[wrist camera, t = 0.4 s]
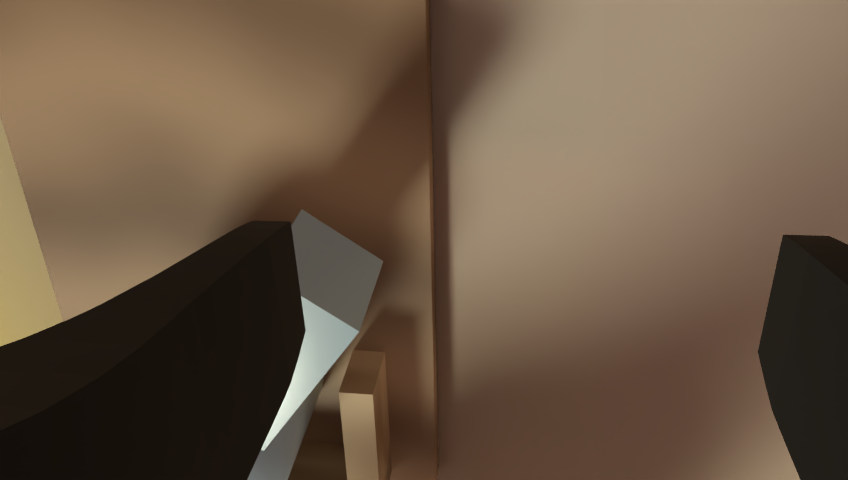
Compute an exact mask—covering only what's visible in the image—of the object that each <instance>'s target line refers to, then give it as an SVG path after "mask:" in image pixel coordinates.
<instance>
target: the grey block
mask: <svg viewBox="0 0 848 480" xmlns="http://www.w3.org/2000/svg"><path fill="white" fill-rule="evenodd" d="M291 227H292V234H293V241H294V249H295V256H296V263H297V271H298V278H299V285H300V293H301V300H302V307H303V315H304V322H305V329H306V332H305V335H304V339H303V343H302V346H301V350H300V354H299V358H298V361H297V364H296V368H295V371H294V374H293V378H292V381H291V384H290V386H289V389H288V391H287V393H286V396H285V398H284V400H283V402H282V405H281V407H280V409H279V411H278V414H277V416H276V418H275V420H274V422H273V425H272V427H271V429H270V431H269V433H268V436H267V438H266V440H265V442H264V444H263V446H262V449H261V451H260V453H259V455H258V457H257V459H256V462H255V464H254V466H253V468H252V470H251V472H250V475H249V477H248V479H247V480H288V477H289V475H290V472H291V469H292V467H293V464H294V461H295V459H296V456H297V453H298V451H299V448H300V445H301V442H302V440H303V437H304V434H305V432H306V429H307V426H308V424H309V421H310V418H311V416H312V413H313V410H314V408H315V405H316V402H317V400H318V397H319V394H320V391H321V389H322V386H323V383H324V380H325V376H326V373H327V371H328V370H329V369H330V368H331V366H332V365H333V364H334V363H335V361H336V360H337V359H338V358H339V356H340V355H341V354H342V353H343V351H344V350H345V349H346V348H347V347H348V345H349V344H350V343H351V342H352V340H353V339H354V338H355V337H356V335H357V334H358V333H359V332H360V329H361V326H362V323H363V320H364V317H365V314H366V311H367V308H368V305H369V302H370V299H371V296H372V293H373V290H374V287H375V285H376V282H377V279H378V276H379V273H380V270H381V267H382V264H383V261H382V260H381V259H379V258H378V257H376V256H375V255H373V254H371V253H370V252H368V251H367V250H365V249H364V248H362V247H360V246H359V245H357V244H356V243H354V242H353V241H351V240H349V239H348V238H346V237H345V236H343V235H341V234H340V233H338V232H337V231H335V230H334V229H332V228H330V227H329V226H327V225H326V224H324V223H323V222H321V221H319V220H318V219H316V218H315V217H313V216H312V215H310V214H308V213H307V212H305V211H304V210H302V209H301V211H300V212H299V214H298V215H297V217H296V218H295V220H294V221H293V223H292V224H291Z"/></svg>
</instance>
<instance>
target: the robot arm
mask: <svg viewBox="0 0 848 480" xmlns="http://www.w3.org/2000/svg"><path fill="white" fill-rule="evenodd" d="M305 332H306V329H305V322H304V315H303V307H302V300H301V293H300V285H299V278H298V271H297V263H296V256H295V249H294V241H293V234H292V227H291V222H289V221H251V222H248V223H246V224H244V225H242V226H240V227H238V228H236V229H234V230H232V231H230V232H228V233H227V234H225V235H223V236H221V237H220V238H218V239H216V240H214V241H213V242H211V243H209V244H208V245H206V246H204V247H203V248H201V249H199V250H198V251H196V252H194V253H192V254H191V255H189V256H187V257H186V258H184V259H182V260H181V261H179V262H177V263H175V264H174V265H172V266H170V267H169V268H167V269H165V270H164V271H162V272H160V273H158V274H157V275H155V276H153V277H151V278H149V279H147V280H145V281H143V282H142V283H140V284H138V285H136V286H134V287H132V288H130V289H129V290H127V291H125V292H123V293H121V294H119V295H117V296H115V297H114V298H112V299H110V300H108V301H106V302H104V303H102V304H100V305H98V306H96V307H94V308H92V309H90V310H88V311H86V312H84V313H82V314H79V315H77V316H75V317H73V318H71V319H68V320H66V321H64V322H61V323H59V324H57V325H54V326H52V327H50V328H47V329H45V330H43V331H40V332H38V333H36V334H33V335H31V336H28V337H26V338H23V339H20V340H18V341H15V342H12V343H9V344H6V345H3V346H1V347H0V480H247V479H248V477H249V475H250V472H251V470H252V468H253V466H254V464H255V462H256V459H257V457H258V455H259V453H260V451H261V449H262V446H263V444H264V442H265V440H266V438H267V436H268V433H269V431H270V429H271V427H272V425H273V422H274V420H275V418H276V416H277V414H278V411H279V409H280V407H281V405H282V402H283V400H284V398H285V396H286V393H287V391H288V389H289V386H290V384H291V381H292V378H293V374H294V371H295V368H296V364H297V361H298V358H299V354H300V350H301V346H302V343H303V339H304V335H305ZM758 354H759V358H760V363H761V367H762V371H763V376H764V380H765V384H766V388H767V392H768V396H769V400H770V403H771V407H772V411H773V413H774V416H775V419H776V421H777V424H778V426H779V429H780V431H781V433H782V436H783V438H784V441H785V443H786V446H787V448H788V451H789V453H790V455H791V458H792V460H793V463H794V465H795V467H796V470H797V472H798V475H799V477H800V479H801V480H848V245H847V244H845V243H843V242H841V241H839V240H837V239H834V238H832V237H830V236H806V235H783V238H782V242H781V247H780V252H779V256H778V261H777V266H776V270H775V275H774V280H773V284H772V289H771V293H770V298H769V303H768V307H767V312H766V317H765V321H764V326H763V331H762V335H761V340H760V345H759V349H758Z"/></svg>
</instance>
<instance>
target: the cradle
mask: <svg viewBox="0 0 848 480" xmlns="http://www.w3.org/2000/svg"><path fill="white" fill-rule="evenodd" d="M0 116H1V119H2V123H3V126H4V129H5V132H6V136H7V139H8V142H9V146H10V149H11V152H12V155H13V159H14V162H15V165H16V168H17V172H18V175H19V178H20V181H21V185H22V188H23V191H24V194H25V198H26V201H27V204H28V208H29V211H30V214H31V217H32V221H33V224H34V227H35V230H36V234H37V237H38V240H39V243H40V247H41V250H42V253H43V256H44V260H45V263H46V266H47V270H48V273H49V276H50V279H51V283H52V286H53V289H54V292H55V296H56V299H57V302H58V305H59V309H60V312H61V315H62V319H63V322H64V321H66V320H68V319H71V318H73V317H75V316H77V315H79V314H82V313H84V312H86V311H88V310H90V309H92V308H94V307H96V306H98V305H100V304H102V303H104V302H106V301H108V300H110V299H112V298H114V297H115V296H117V295H119V294H121V293H123V292H125V291H127V290H129V289H130V288H132V287H134V286H136V285H138V284H140V283H142V282H143V281H145V280H147V279H149V278H151V277H153V276H155V275H157V274H158V273H160V272H162V271H164V270H165V269H167V268H169V267H170V266H172V265H174V264H175V263H177V262H179V261H181V260H182V259H184V258H186V257H187V256H189V255H191V254H192V253H194V252H196V251H198V250H199V249H201V248H203V247H204V246H206V245H208V244H209V243H211V242H213V241H214V240H216V239H218V238H220V237H221V236H223V235H225V234H227V233H228V232H230V231H232V230H234V229H236V228H238V227H240V226H242V225H244V224H246V223H248V222H251V221H289V222H291V224H292V223H293V221H294V220H295V218H296V217H297V215H298V214H299V212H300V211H301V209H302V210H304V211H305V212H307V213H308V214H310V215H312V216H313V217H315V218H316V219H318V220H319V221H321V222H323V223H324V224H326V225H327V226H329V227H330V228H332V229H334V230H335V231H337V232H338V233H340V234H341V235H343V236H345V237H346V238H348V239H349V240H351V241H353V242H354V243H356V244H357V245H359V246H360V247H362V248H364V249H365V250H367V251H368V252H370V253H371V254H373V255H375V256H376V257H378V258H379V259H381V260H382V261H383V264H382V267H381V270H380V273H379V276H378V279H377V282H376V285H375V287H374V290H373V293H372V296H371V299H370V302H369V305H368V308H367V311H366V314H365V317H364V320H363V323H362V326H361V329H360V332H359V333H358V334H357V335H356V337H355V338H354V339H353V340H352V342H351V343H350V344H349V345H348V347H347V348H346V349H345V350H344V351H343V353H342V354H341V355H340V356H339V358H338V359H337V360H336V361H335V363H334V364H333V365H332V366H331V368H330V369H329V370H328V371H327V373H326V376H325V380H324V383H323V386H322V389H321V391H320V394H319V397H318V400H317V402H316V405H315V408H314V410H313V413H312V416H311V418H310V421H309V424H308V426H307V429H306V432H305V434H304V437H303V440H302V442H301V445H300V448H299V451H298V453H297V456H296V459H295V461H294V464H293V467H292V469H291V472H290V475H289V477H288V480H437V474H438V467H439V465H438V412H437V360H436V307H435V255H434V203H433V150H432V98H431V45H430V0H0Z"/></svg>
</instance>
